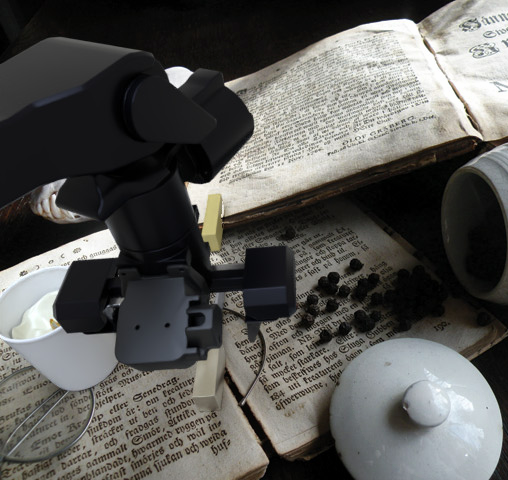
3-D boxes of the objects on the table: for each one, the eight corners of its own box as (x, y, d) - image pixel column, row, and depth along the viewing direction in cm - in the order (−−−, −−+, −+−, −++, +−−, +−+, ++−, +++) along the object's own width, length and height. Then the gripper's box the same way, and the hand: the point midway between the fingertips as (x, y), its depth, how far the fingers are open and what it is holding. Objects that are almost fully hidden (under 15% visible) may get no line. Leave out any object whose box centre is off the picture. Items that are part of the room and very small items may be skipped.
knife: (221, 410, 52) (214, 396, 50) (199, 412, 52) (191, 397, 50) (233, 283, 65) (228, 267, 62) (215, 285, 65) (210, 268, 62)
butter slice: (206, 252, 69) (201, 235, 67) (212, 211, 76) (208, 194, 73) (220, 251, 69) (215, 234, 67) (225, 210, 76) (221, 193, 73)
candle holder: (29, 397, 55) (-31, 341, 46) (64, 326, 61) (17, 265, 53) (112, 398, 54) (66, 341, 45) (138, 326, 61) (102, 264, 52)
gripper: (-31, 328, 28) (79, 435, 39) (286, 305, 28) (305, 418, 39) (38, 203, 36) (113, 322, 47) (285, 185, 36) (301, 308, 47)
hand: (204, 342), depth 45 cm, fingers open, 9 cm apart
